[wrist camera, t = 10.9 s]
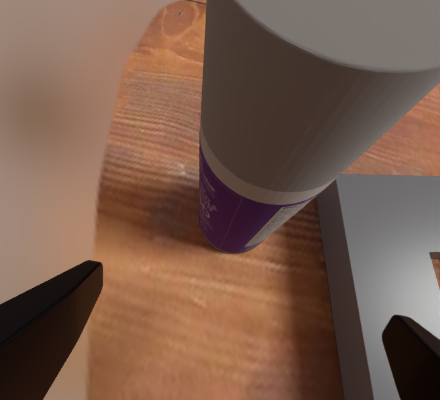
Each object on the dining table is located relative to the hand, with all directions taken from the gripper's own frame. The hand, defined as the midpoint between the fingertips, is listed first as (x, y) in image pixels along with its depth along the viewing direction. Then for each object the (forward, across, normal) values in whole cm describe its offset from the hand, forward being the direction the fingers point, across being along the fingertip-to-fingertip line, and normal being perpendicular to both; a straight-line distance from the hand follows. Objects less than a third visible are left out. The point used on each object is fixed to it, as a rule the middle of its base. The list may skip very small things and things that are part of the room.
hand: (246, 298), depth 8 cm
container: (+10, 0, +3) cm, 10 cm away
